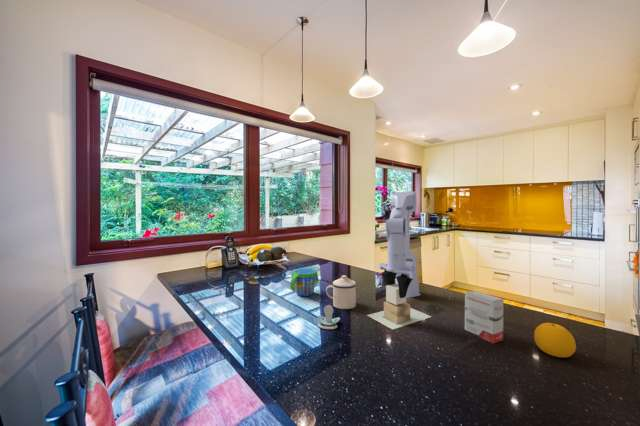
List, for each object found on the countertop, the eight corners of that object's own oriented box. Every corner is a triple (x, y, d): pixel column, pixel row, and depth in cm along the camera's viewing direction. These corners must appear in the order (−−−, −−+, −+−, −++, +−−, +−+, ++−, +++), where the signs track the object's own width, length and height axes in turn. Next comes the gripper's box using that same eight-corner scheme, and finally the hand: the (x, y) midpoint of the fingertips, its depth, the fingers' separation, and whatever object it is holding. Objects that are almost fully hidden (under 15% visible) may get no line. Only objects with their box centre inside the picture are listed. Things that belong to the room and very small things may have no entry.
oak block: (396, 313, 89) (396, 298, 89) (410, 319, 84) (410, 304, 84) (383, 316, 86) (383, 302, 86) (397, 323, 81) (397, 308, 81)
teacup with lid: (359, 303, 100) (358, 274, 100) (352, 312, 92) (352, 280, 91) (330, 299, 105) (330, 271, 104) (321, 307, 96) (321, 276, 96)
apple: (580, 366, 60) (581, 334, 59) (536, 356, 64) (537, 326, 64) (570, 350, 66) (570, 321, 66) (531, 342, 71) (531, 315, 70)
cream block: (395, 298, 88) (395, 283, 88) (406, 302, 84) (406, 287, 84) (386, 300, 86) (386, 285, 85) (396, 304, 82) (396, 289, 82)
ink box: (504, 340, 72) (504, 298, 71) (493, 344, 69) (493, 301, 69) (474, 327, 79) (474, 289, 79) (463, 331, 77) (463, 292, 77)
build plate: (404, 306, 96) (404, 304, 96) (431, 318, 86) (431, 316, 86) (366, 316, 88) (366, 315, 88) (392, 331, 77) (392, 329, 77)
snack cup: (310, 287, 121) (310, 266, 121) (326, 292, 113) (326, 269, 113) (283, 295, 110) (283, 272, 110) (299, 301, 103) (298, 276, 102)
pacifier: (337, 332, 78) (341, 322, 84) (337, 312, 77) (340, 304, 83) (314, 329, 80) (319, 320, 85) (314, 309, 79) (319, 302, 85)
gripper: (372, 252, 89) (372, 290, 89) (405, 259, 76) (405, 304, 77) (387, 250, 92) (387, 287, 93) (421, 256, 80) (421, 300, 80)
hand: (396, 295), depth 85 cm, fingers closed on cream block, 4 cm apart
